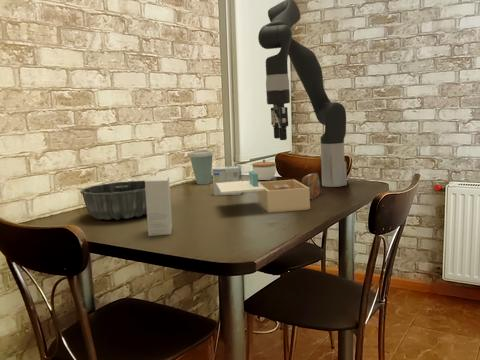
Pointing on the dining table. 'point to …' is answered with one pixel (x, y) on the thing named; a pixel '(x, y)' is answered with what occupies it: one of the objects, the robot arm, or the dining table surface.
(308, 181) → the brown flat slab
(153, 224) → the skincare box
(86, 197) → the bundt pan
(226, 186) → the lid
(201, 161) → the disposable coffee cup
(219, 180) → the light bulb box
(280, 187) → the birch block
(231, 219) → the dining table surface
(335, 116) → the robot arm
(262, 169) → the lidded jar
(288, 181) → the box
